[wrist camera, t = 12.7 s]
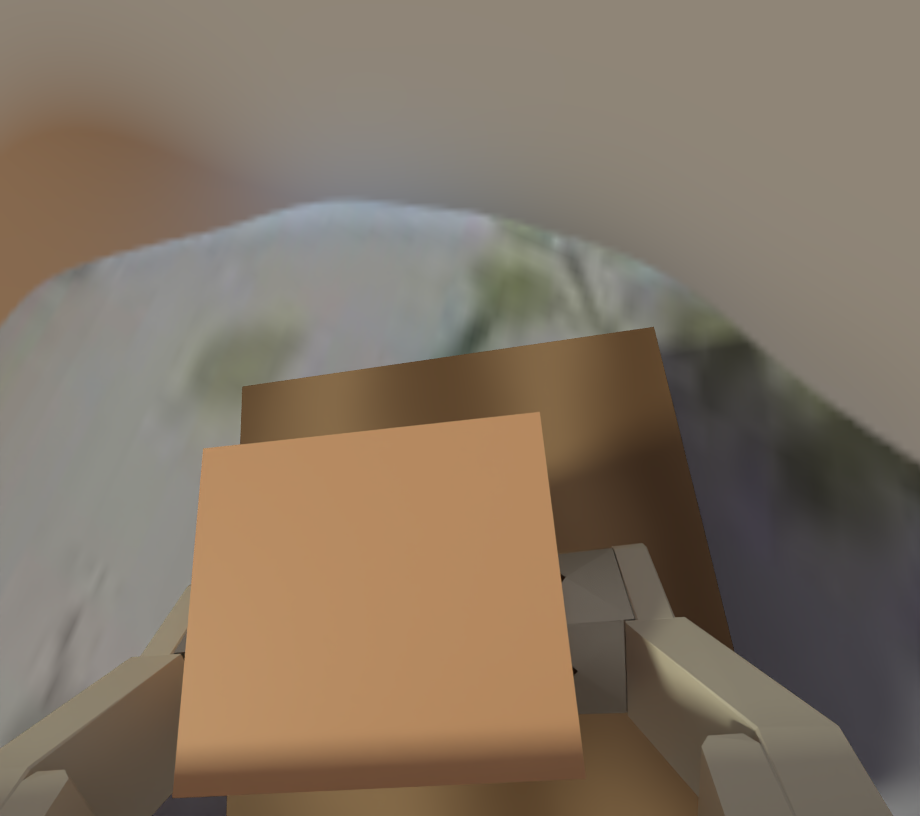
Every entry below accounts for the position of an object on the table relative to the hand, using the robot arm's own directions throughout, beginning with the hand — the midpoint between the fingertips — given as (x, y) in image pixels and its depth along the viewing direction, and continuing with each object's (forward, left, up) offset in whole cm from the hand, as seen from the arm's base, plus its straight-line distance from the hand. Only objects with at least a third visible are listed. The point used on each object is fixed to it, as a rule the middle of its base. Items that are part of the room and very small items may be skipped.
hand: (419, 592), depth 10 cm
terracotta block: (0, 0, -5) cm, 5 cm away
